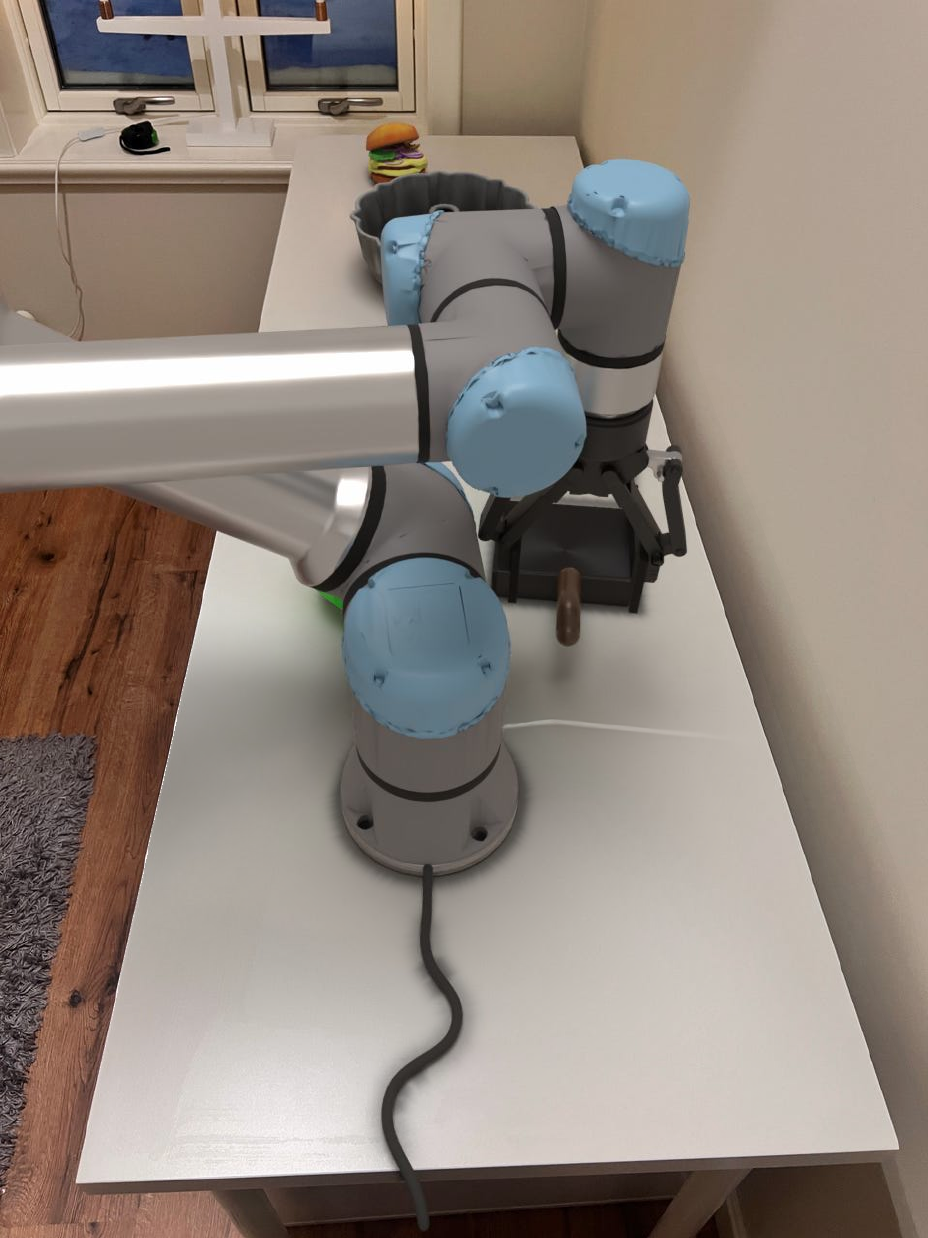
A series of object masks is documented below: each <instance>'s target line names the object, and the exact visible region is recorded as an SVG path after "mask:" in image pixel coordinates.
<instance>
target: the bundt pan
mask: <svg viewBox="0 0 928 1238" xmlns="http://www.w3.org/2000/svg"><path fill="white" fill-rule="evenodd" d="M354 208H355V209H354V210H353V211H351V212H350V213H349V219H350V220H352V221H353V222H354V226H355V231H356V235H357V238H358V242H359V246H360V251H361V254H362V257H363V259H364V261H365V263H366V264H367V266H368V269H369V271H370V273H371V274H372V276H373V278H374V279H375V280H376V281H378V282H379V283H380V284H381V285H383V282H382V266H381V234H382V231H383V228H384V227H385V225H386V224H387V223H388V222H389V221H391V220H392V219H394V218H400V217H408V216H417V215H425V214H432V213H434V212H435V211H439V210H443V211H444V212H467V211H493V210H519V209H538V206H537V205H535V204H533V203H531V202H530V197H529V195H528V193H527V192H526V191H524V190H523V189H521V188H519V187H517V186H514V185H510V184H508V183H507V182H506V180H504V179H503V178H491V177H488V176H487V175H484V174H481V173H477V172H471V171H454V172H453V171H452V172H448V171H444V170H434V171H430V172H427V173H425V174H424V173H416V174H407V175H403V176H399V177H397V178H395V179H393V180H391V181H390V182H385V183H376V184H375V185H374V187H373V188H372V189H371V190H368V191H366V192H364V193H362V194H361V195H359V196H357V198H356V200H355V202H354Z"/></svg>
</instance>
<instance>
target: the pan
mask: <svg viewBox="0 0 928 1238" xmlns="http://www.w3.org/2000/svg"><path fill="white" fill-rule="evenodd" d="M636 486H637V488H638V489H639V485H638V484H636ZM520 501H521V500H510V501H509V503H508V505H507V507H506V509H505V511H504V513H503V518H505V517H506V516H507V515H508V514H509V513H510V512H511V510H512V509H513V508H514V507H515V506H516V505H517V504H518V503H519V502H520ZM638 543H639V538H638V536H637V534H636V532H635V531H634V529H633V527H632V525H631V523H630V522H629V520H628V518H627V516H626V515H625V513H624V511H623V509H622V508H619V507H605V506H591V505H579V504H578V505H577V504H564V503H563V504H562V503H552V504H551V506H550V507H549V508H548V509H547V510H546V511H545V512H544V513H543V514H542V515H541V516H540V517H539V518H538V519H537V520H536V521H535V522H534V523H533V524H532V525H531V527H530V528H529V529H528V530H527V531H526V532H525V533H524V534H523V535H522V542H521V554H520V566H519V578H518V590H517V599H523V600H536V601H547V602H549V601H550V602H556V613H555V614H556V616H555V617H556V619H555V638H556V641H557V642H558V644H560V645H561V646H563V647H573V646H574V645H576V644H577V643H578V642H579V640H580V638H581V613H582V612H581V607H582V606H581V605H582V604H587V605H598V606H599V605H601V606H611V607H612V606H613V607H624V608H629V604H628V590H629V585H630V581H631V576H632V571H633V566H634V562H635V557H636V552H637V547H638ZM493 547H494V549H493V558H492V566H491V567H492V568H491V580H490V581H491V582H490V583H491V584H490V588H491V589H492V590H493V591H494V593H495V594H496V596H497V597H498V598H508V596H509V582H510V571H500V570H499V568H498V549H499V546H498V544H497V543H496V542H495V541H494V546H493Z"/></svg>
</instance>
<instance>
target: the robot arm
mask: <svg viewBox="0 0 928 1238" xmlns="http://www.w3.org/2000/svg"><path fill="white" fill-rule="evenodd" d="M690 208H691V198H690V193H689V190H688V188H687V186H686V185H685V184H684V183H683V181H682V180H681V178H680V177H679V176H678V175H677V174H676V173H675V172H673V171H671V170H670V169H668V168H666V167H663V166H662V165H659V164H656V163H653V162H649V161H645V160H639V159H632V158H631V159H629V158H615V159H614V158H613V159H606V160H605V161H602V162H601V164H590V165H588V166H586V167H585V168H582V170H580V171H579V172H578V173H577V175H576V176H575V178H574V179H573V182H572V186H571V192H570V193H569V194H568V197H567V203H566V204H564V205H551V206H550V207H547V208H544V207H542V208H537V209H519V210H493V211H467V212H444V211H443V210H439V211H435V212H434V213H432V214H425V215H417V216H408V217H400V218H394V219H392V220H391V221H389V222H388V223H387V224H386V225H385V227H384V228H383V231H382V234H381V266H382V282H383V284H382V293H383V303H384V310H385V318H386V324H387V325H374V326H373V325H372V326H356V327H338V328H337V327H336V328H315V329H299V330H298V329H295V330H279V331H278V330H277V331H261V332H260V331H258V332H239V333H222V334H221V333H219V334H202V335H201V334H199V335H181V336H163V337H162V336H161V337H142V338H140V337H139V338H122V339H121V338H119V339H105V340H103V339H102V340H101V339H100V340H85V341H84V340H83V341H80V340H77V339H75V338H73V337H70V336H68V335H66V334H64V333H62V332H60V331H58V330H55V329H53V328H52V327H49V326H47V325H44V324H42V323H41V322H38V321H36V320H34V319H32V318H30V317H27V316H25V315H23V314H21V313H18V312H17V311H15V309H13V307H12V306H11V305H10V304H9V301H8V300H7V298H6V296H5V294H4V292H3V289H2V288H1V287H0V495H2V494H3V495H4V494H14V493H15V494H16V493H30V492H42V491H44V492H45V491H56V490H70V489H82V488H83V489H85V488H98V487H103V488H105V489H108V490H110V491H113V492H115V493H117V494H121V495H123V496H126V497H129V498H131V499H134V500H136V501H139V502H141V503H144V504H146V505H149V506H152V507H154V508H157V509H159V510H161V511H165V512H167V513H170V514H171V515H174V516H177V517H181V518H183V519H185V520H188V521H190V522H193V523H196V524H198V525H201V526H203V527H206V528H208V529H211V530H213V531H216V532H219V533H221V534H223V535H227V536H229V537H231V538H234V539H237V540H239V541H242V542H245V543H247V544H250V545H253V546H254V547H258V548H260V549H263V550H266V551H267V552H271V553H273V554H276V555H278V556H280V557H283V558H286V559H288V560H289V564H290V566H291V569H292V570H293V574H294V577H295V579H296V580H297V582H299V583H300V584H301V585H303V586H305V587H308V588H311V589H313V590H316V591H317V590H319V591H321V592H324V593H327V594H329V595H332V596H335V597H337V598H339V599H340V600H341V601H342V605H343V609H342V619H343V633H342V636H341V659H342V665H343V670H344V673H345V676H346V678H347V684H348V691H349V700H350V701H349V702H350V708H351V718H352V725H353V732H354V733H353V734H354V740H355V741H354V743H353V744H352V747H351V750H350V751H349V754H348V755H347V757H346V760H345V763H344V766H343V768H342V771H341V775H340V782H339V799H340V806H341V812H342V816H343V820H344V823H345V826H346V828H347V830H348V832H349V834H350V836H351V837H352V839H353V840H354V842H355V843H356V845H358V847H359V848H360V849H361V851H363V852H364V853H365V854H366V855H368V856H369V857H370V858H372V859H373V860H375V861H376V862H377V863H378V864H380V865H382V866H384V867H386V868H389V869H391V870H394V871H397V872H400V873H403V874H407V875H414V876H422V895H421V898H422V901H421V916H420V917H421V918H420V927H419V946H420V953H421V957H422V960H423V963H424V965H425V967H426V969H427V970H428V973H429V974H430V976H431V978H432V979H433V980H434V981H435V983H436V984H437V986H438V987H439V988H440V990H441V991H442V992H443V994H444V995H445V997H446V999H447V1000H448V1002H449V1006H450V1009H451V1022H450V1025H449V1029H448V1031H447V1032H446V1034H445V1035H444V1036H443V1038H442V1039H440V1041H439V1042H437V1043H436V1044H435V1045H434V1046H432V1047H430V1049H428V1050H426V1051H425V1052H423V1053H422V1054H420V1055H418V1056H417V1057H415V1058H414V1059H412V1060H410V1061H409V1062H408V1063H406V1064H405V1065H404V1066H403V1067H401V1068H400V1069H399V1070H398V1072H396V1073H395V1075H394V1076H393V1077H392V1078H391V1080H390V1081H389V1082H388V1085H387V1087H386V1088H385V1092H384V1094H383V1098H382V1103H381V1117H380V1118H381V1127H382V1132H383V1135H384V1139H385V1142H386V1145H387V1147H388V1150H389V1151H390V1153H391V1154H390V1155H391V1156H392V1159H393V1161H394V1163H395V1165H397V1168H398V1170H399V1172H400V1174H401V1176H402V1178H403V1180H404V1181H405V1184H406V1185H407V1186H406V1187H407V1189H408V1191H409V1193H410V1196H411V1199H412V1202H413V1206H414V1210H415V1215H416V1221H417V1226H418V1228H419V1230H420V1231H421V1232H426V1231H428V1230H429V1228H430V1215H429V1210H428V1205H427V1200H426V1197H425V1193H424V1190H423V1188H422V1185H421V1183H420V1181H419V1179H418V1176H417V1174H416V1172H415V1170H414V1168H413V1166H412V1164H411V1162H410V1160H409V1159H408V1156H407V1155H406V1153H405V1151H404V1149H403V1147H402V1145H401V1143H400V1140H399V1138H398V1135H397V1132H396V1128H395V1123H394V1104H395V1100H396V1096H397V1094H398V1091H399V1089H400V1087H401V1085H402V1084H403V1083H405V1082H406V1080H408V1078H409V1077H411V1076H412V1075H413V1074H415V1073H417V1072H418V1071H419V1070H421V1069H422V1068H424V1067H426V1066H427V1065H428V1064H430V1063H432V1062H433V1061H435V1060H436V1059H438V1058H439V1057H440V1056H442V1055H443V1054H444V1053H445V1052H446V1051H448V1050H449V1049H450V1048H451V1046H452V1045H453V1044H454V1043H455V1041H456V1040H457V1038H458V1036H459V1034H460V1032H461V1028H462V1024H463V1016H464V1012H463V1005H462V1003H461V1000H460V997H459V995H458V993H457V991H456V990H455V988H454V987H453V985H452V984H451V983H450V981H449V980H448V978H447V977H446V976H445V974H444V973H443V972H442V970H441V969H440V967H439V965H438V964H437V962H436V960H435V957H434V954H433V951H432V945H431V926H432V916H433V881H434V879H433V876H434V877H435V876H442V875H443V876H444V875H448V874H449V875H450V874H453V873H457V872H460V871H463V870H466V869H468V868H470V867H472V866H474V865H476V864H478V863H480V862H481V861H483V860H484V859H485V858H487V857H488V856H490V855H491V854H492V853H493V852H494V851H496V849H497V848H498V847H500V845H501V844H502V843H503V841H504V840H505V839H506V837H507V835H508V834H509V832H510V830H511V828H512V826H513V823H514V821H515V818H516V813H517V811H518V810H517V809H518V801H519V794H520V793H519V788H520V786H519V785H520V783H519V776H518V772H517V771H518V770H517V768H516V765H515V762H514V760H513V758H512V755H511V753H510V751H509V750H508V747H507V746H506V744H505V741H504V740H503V738H502V736H503V735H502V734H503V725H504V713H505V712H504V711H505V701H506V691H507V682H508V681H507V680H508V679H507V677H508V675H509V673H510V667H511V654H512V650H511V647H512V645H511V644H512V643H511V642H512V641H511V636H510V630H509V627H508V621H507V617H506V613H505V610H504V608H503V605H502V603H501V601H500V599H499V597H497V596H496V594H495V593H494V591H493V590H492V589H491V585H489V584H488V581H487V577H486V573H485V567H484V561H483V557H482V553H481V548H480V547H481V546H480V543H479V540H480V541H482V542H489V541H493V542H494V543H495V542H496V543H497V544H498V546H499V549H498V568H499V570H500V571H510V582H509V596H508V597H507V603H509V604H517V601H518V598H517V590H518V578H519V566H520V554H521V542H522V535H523V534H524V533H525V532H526V531H527V530H528V529H529V528H530V527H531V525H532V524H533V523H534V522H535V521H536V520H537V519H538V518H539V517H540V516H541V515H542V514H543V513H544V512H545V511H546V510H547V509H548V508H549V507H550V506H551V504H558V502H559V501H561V499H562V498H563V497H564V496H565V495H566V494H567V493H568V492H569V493H568V494H569V495H572V496H582V495H583V496H584V495H591V496H595V497H599V498H609V495H611V496H612V497H613V499H614V502H615V503H616V506H618V508H620V509H623V511H624V513H625V515H626V516H627V518H628V520H629V522H630V523H631V525H632V527H633V529H634V531H635V532H636V534H637V536H638V538H639V543H638V547H637V552H636V557H635V562H634V566H633V571H632V576H631V581H630V585H629V590H628V604H629V607H628V614H636V615H637V614H638V611H639V607H640V603H641V599H642V594H643V590H644V585H645V583H647V584H648V583H649V584H654V583H656V582H657V580H658V577H659V574H660V569H661V567H663V565H664V564H665V557H666V556H668V555H669V556H670V555H673V556H674V557H676V558H680V557H685V556H686V555H687V554H688V546H687V533H686V525H685V520H684V519H685V518H684V511H683V505H682V497H681V492H680V481H681V480H682V475H683V473H684V465H683V456H682V455H683V453H682V448H681V447H680V446H679V445H677V444H672V445H669V446H668V447H666V449H665V450H657V449H649V446H648V444H647V438H648V433H649V427H650V422H651V418H652V414H653V408H654V398H655V396H656V392H657V389H658V383H659V377H660V373H661V367H662V362H663V355H664V351H665V345H666V339H667V331H668V327H669V322H670V318H671V312H672V308H673V304H674V299H675V295H676V290H677V287H678V286H677V285H678V282H679V277H680V272H681V267H682V265H683V264H684V262H685V258H686V251H685V249H686V244H687V235H688V229H689V222H690V220H689V219H690V217H689V216H690ZM556 331H557V333H556ZM445 462H451V464H452V466H453V467H454V469H455V471H456V472H457V474H458V476H459V477H460V478H461V479H462V480H463V481H464V482H465V483H466V484H467V485H468V486H469V487H471V488H472V489H474V490H477V491H481V492H483V493H487V494H489V496H488V498H487V500H486V502H485V504H484V507H483V509H482V511H481V513H480V517H479V523H478V529H477V523H476V520H475V514H474V510H473V508H472V505H471V503H470V501H469V500H468V497H467V495H466V493H465V489H464V488H463V485H462V483H461V482H460V480H459V479H458V477H457V476H456V475H455V474H454V472H453V471H452V470H451V469H450V468H449V467H448V466H447V465H446V464H444V463H445ZM647 468H649V469H651V470H652V473H653V477H654V478H655V479H657V481H658V482H659V483H661V492H662V493H661V494H662V500H663V505H664V511H665V517H666V523H667V529H668V532H664V533H663V532H662V531H661V528H660V526H659V525H658V523H657V521H656V520H655V517H654V515H653V514H652V512H651V510H650V508H649V506H648V504H647V502H646V501H645V499H644V497H643V495H642V493H641V492H640V489H639V487H638V488H637V486H636V485H637V483H636V481H635V478H636V477H638V476H639V475H640V474H642V472H643V471H645V470H646V469H647ZM520 497H522V498H521V499H520V500H519V501H520V502H519V503H518V504H517V505H516V506H515V507H514V508H513V509H512V510H511V512H510V513H509V514H508V515H507V516H506V517H505V518H503V513H504V511H505V509H506V507H507V505H508V503H509V501H511V499H512V498H520ZM477 530H478V531H477Z"/></svg>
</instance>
